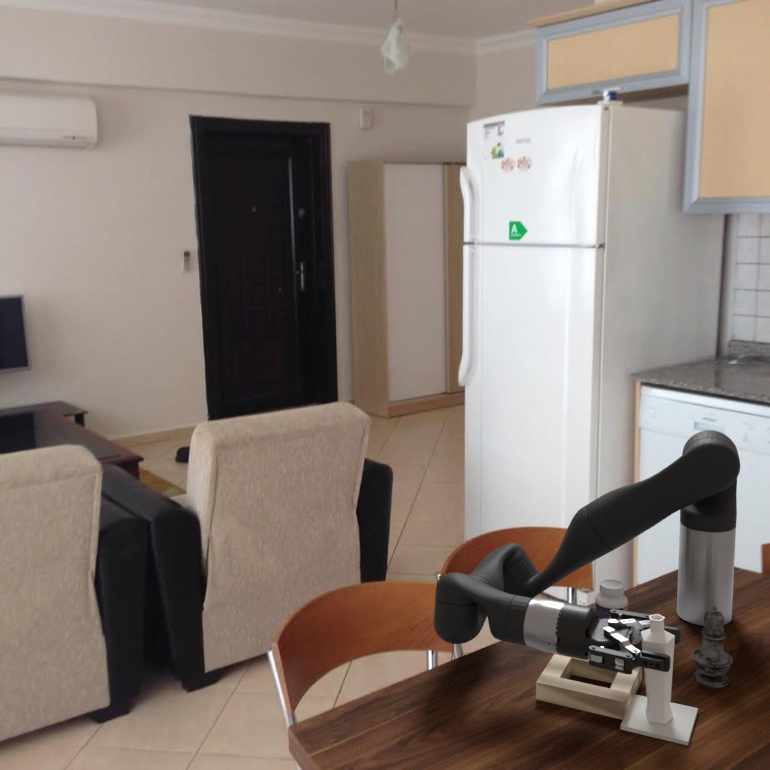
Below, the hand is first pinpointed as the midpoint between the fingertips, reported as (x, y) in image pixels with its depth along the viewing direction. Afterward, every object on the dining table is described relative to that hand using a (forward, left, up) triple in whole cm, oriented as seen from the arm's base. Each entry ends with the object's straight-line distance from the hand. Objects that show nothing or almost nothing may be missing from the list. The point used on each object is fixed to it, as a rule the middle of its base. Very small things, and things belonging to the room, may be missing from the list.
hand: (675, 650), depth 119 cm
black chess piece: (-15, +3, -11) cm, 19 cm away
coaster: (0, -2, -11) cm, 11 cm away
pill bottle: (-22, -14, -11) cm, 28 cm away
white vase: (0, -2, -11) cm, 11 cm away
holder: (-4, -13, -11) cm, 17 cm away
